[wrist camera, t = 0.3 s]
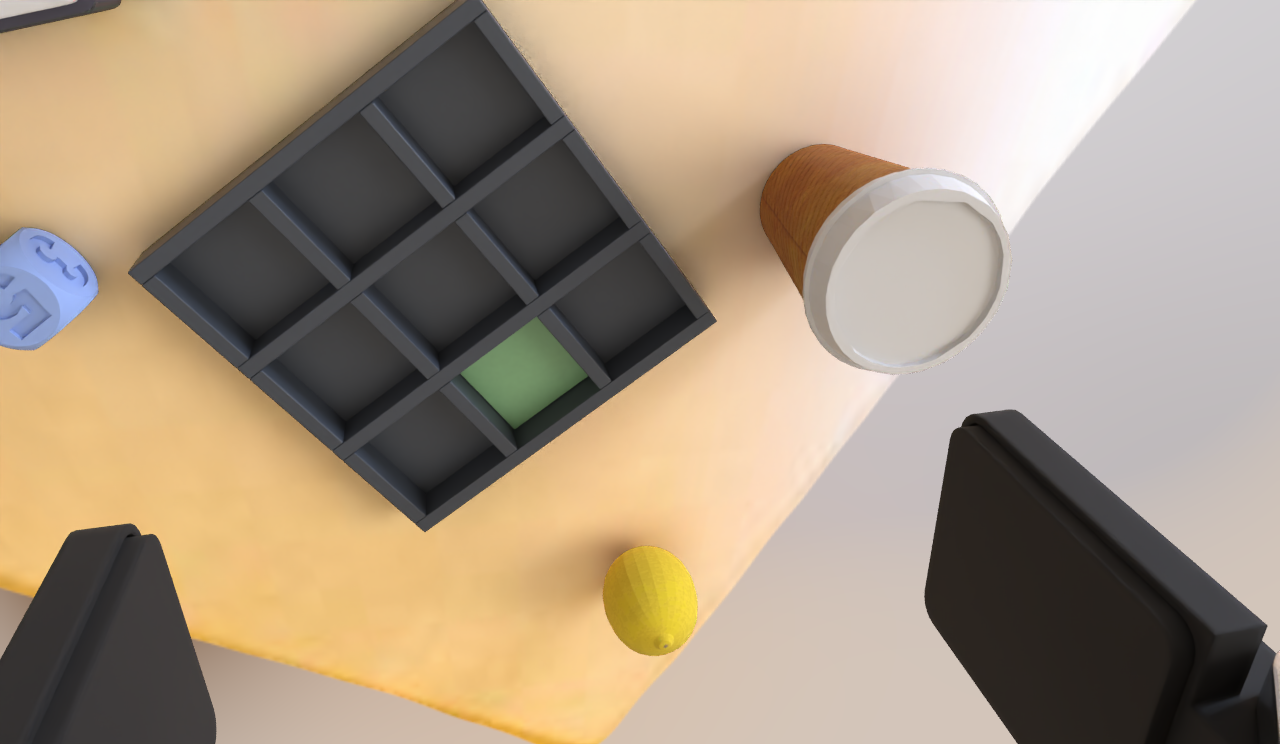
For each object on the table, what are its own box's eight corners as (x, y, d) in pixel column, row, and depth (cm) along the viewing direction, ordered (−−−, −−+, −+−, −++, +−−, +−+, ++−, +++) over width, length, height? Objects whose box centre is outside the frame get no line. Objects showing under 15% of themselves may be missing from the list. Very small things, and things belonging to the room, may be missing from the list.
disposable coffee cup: (930, 174, 50) (1063, 250, 40) (822, 312, 53) (921, 416, 43) (806, 75, 46) (918, 131, 36) (695, 230, 49) (770, 323, 39)
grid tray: (141, 252, 44) (126, 273, 41) (472, -13, 41) (475, -7, 39) (424, 505, 53) (424, 532, 51) (704, 302, 51) (717, 321, 49)
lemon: (625, 603, 60) (652, 697, 53) (576, 555, 57) (597, 647, 51) (694, 556, 60) (730, 645, 53) (647, 505, 57) (679, 592, 50)
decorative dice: (49, 327, 44) (18, 365, 41) (-27, 267, 42) (-66, 301, 39) (110, 278, 44) (84, 311, 40) (36, 214, 42) (2, 244, 38)
